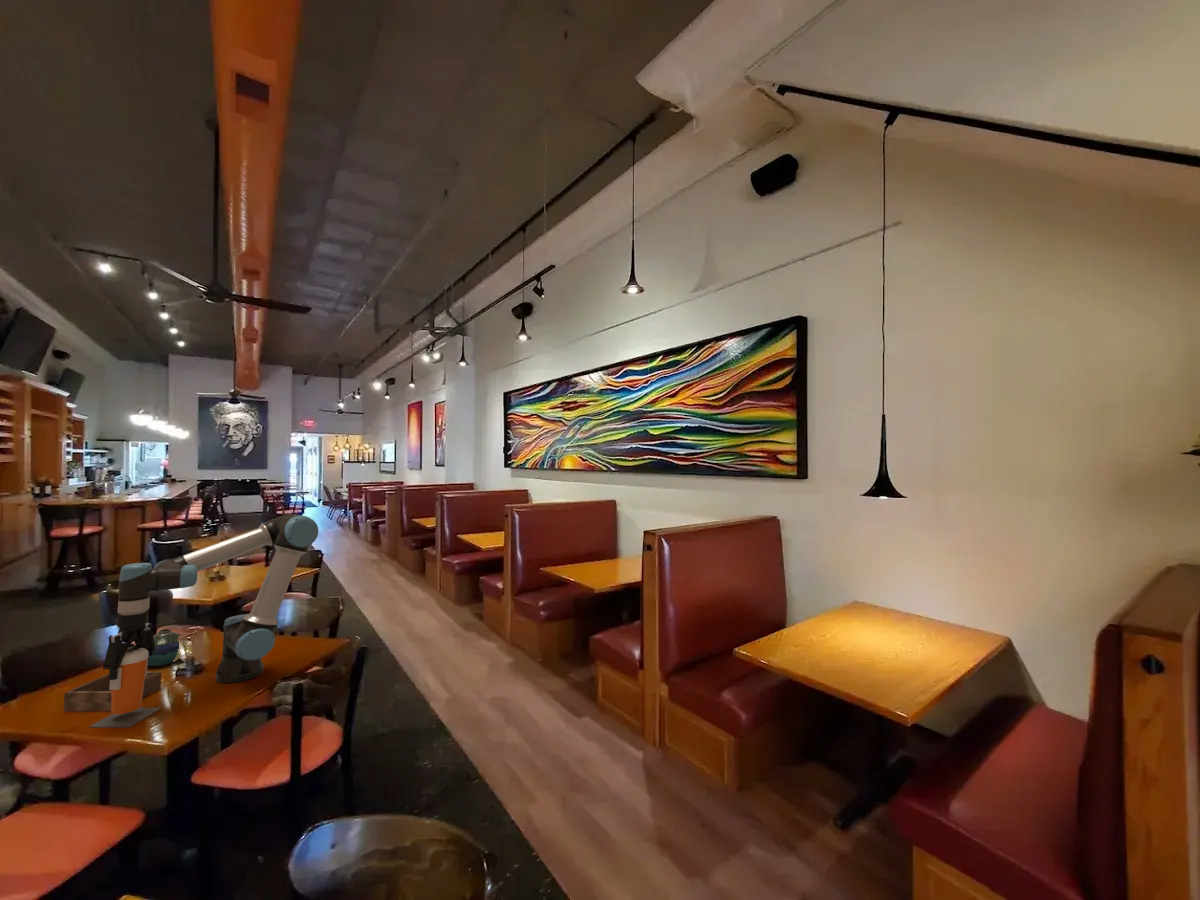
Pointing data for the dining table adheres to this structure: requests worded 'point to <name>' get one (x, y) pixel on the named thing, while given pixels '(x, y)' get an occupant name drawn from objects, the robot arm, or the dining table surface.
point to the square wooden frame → (102, 693)
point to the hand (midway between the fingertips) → (128, 682)
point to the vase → (164, 648)
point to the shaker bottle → (130, 681)
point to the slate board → (125, 718)
